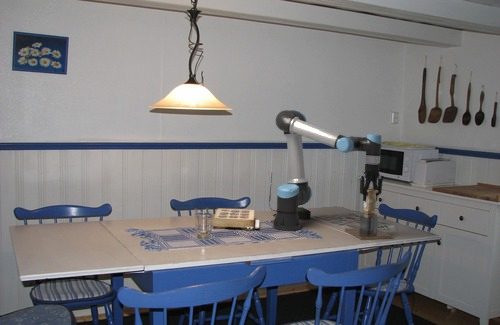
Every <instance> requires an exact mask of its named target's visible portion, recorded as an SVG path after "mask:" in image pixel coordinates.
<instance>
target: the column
mask: <svg viewBox="0 0 500 325" xmlns="http://www.w3.org/2000/svg"><path fill="white" fill-rule="evenodd" d="M367 192H368V193H367V195H368V208H365V207H364V206H363V208H364V210H363V215H364V216H365V217H367V218H372V217H373V216H374V215H372V214H371V213H375V211H376V208H375V200H376V193H378V190H375V189H373V188H369V189H368V190H367ZM375 214H376V213H375Z"/></svg>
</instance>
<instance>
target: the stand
mask: <svg viewBox="0 0 500 325" xmlns="http://www.w3.org/2000/svg"><path fill="white" fill-rule="evenodd" d="M371 214H372V215H374V216H373V217H372V218H367V217H365V216H364V214H362V215H361V214H360V217H359V227H357V228H356V227H355V228H351V227H350V228H344V232H345V233H348V234H349V235H351V236H353V237H355V238H356V239H359V240H361V241H369V240H370V241H371V240H388V239H389V240H390V239H391V238H392V239H393V235H392V234H390V233H388V232H385V231H382V230H381V229H378V220H379V218H378V214H377V213H371ZM392 239H391V240H392Z"/></svg>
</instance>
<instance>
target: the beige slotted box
mask: <svg viewBox="0 0 500 325" xmlns="http://www.w3.org/2000/svg"><path fill="white" fill-rule="evenodd" d="M254 224H255V225H254ZM212 226H213V227H212V229H214V230H227V228H231V229H236V228H241V230H245V231H254V228H255V229H259V228H260V219H255V209H250V208H249V209H244V208H221V207H220V208H218V207H217V209H216V211H215V213H214V215H213V218H212Z"/></svg>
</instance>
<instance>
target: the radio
mask: <svg viewBox="0 0 500 325" xmlns="http://www.w3.org/2000/svg"><path fill="white" fill-rule="evenodd" d="M272 180H273V173H271V176H270V182H272ZM269 188H270V189H269V198H268V199H269V200H268V203H269V204H268V205H269V209H270V210H271V211H272V212H277V209H276V210H274V209H272V207H271V196H272V194H271V193H272V192H271V191H272V185H270V187H269ZM311 214H312V211H311V210H309V209H307V208H305V207H303V206H302V207H301V206H298V217H299V221H300V220H311ZM275 216H276V213H273V214H272V217H275Z"/></svg>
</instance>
